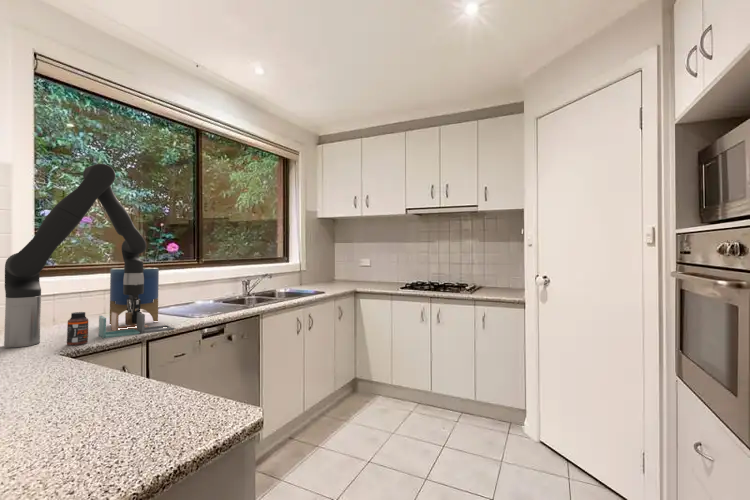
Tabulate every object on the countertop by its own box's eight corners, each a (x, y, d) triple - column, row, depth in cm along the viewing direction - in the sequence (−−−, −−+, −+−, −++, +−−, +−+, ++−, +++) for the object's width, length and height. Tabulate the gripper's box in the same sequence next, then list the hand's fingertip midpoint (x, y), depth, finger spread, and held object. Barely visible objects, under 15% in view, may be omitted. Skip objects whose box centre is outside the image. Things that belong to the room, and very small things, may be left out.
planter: (106, 329, 161) (107, 269, 161) (112, 322, 177) (113, 268, 178) (157, 325, 170) (158, 268, 171) (158, 319, 187) (159, 267, 187)
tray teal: (103, 339, 140) (103, 318, 140) (98, 335, 146) (99, 315, 147) (139, 334, 149) (139, 314, 149) (133, 331, 155) (134, 312, 155)
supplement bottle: (78, 345, 130) (79, 313, 130) (62, 345, 130) (62, 313, 130) (92, 342, 136) (92, 311, 136) (76, 342, 136) (77, 311, 136)
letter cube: (128, 325, 156) (128, 313, 157) (125, 323, 160) (125, 311, 160) (141, 323, 160) (141, 311, 160) (138, 322, 164) (138, 310, 164)
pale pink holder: (115, 333, 152) (116, 313, 152) (111, 330, 158) (111, 311, 158) (148, 329, 160) (149, 310, 161) (143, 326, 167) (143, 308, 167)
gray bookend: (142, 334, 149) (142, 314, 150) (136, 331, 156) (136, 312, 156) (174, 330, 158) (174, 311, 158) (167, 327, 164) (167, 309, 165)
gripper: (119, 283, 163) (119, 321, 162) (127, 284, 153) (127, 325, 152) (139, 282, 168) (138, 319, 168) (148, 283, 158) (147, 323, 158)
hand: (133, 322), depth 160 cm, fingers closed on letter cube, 5 cm apart
